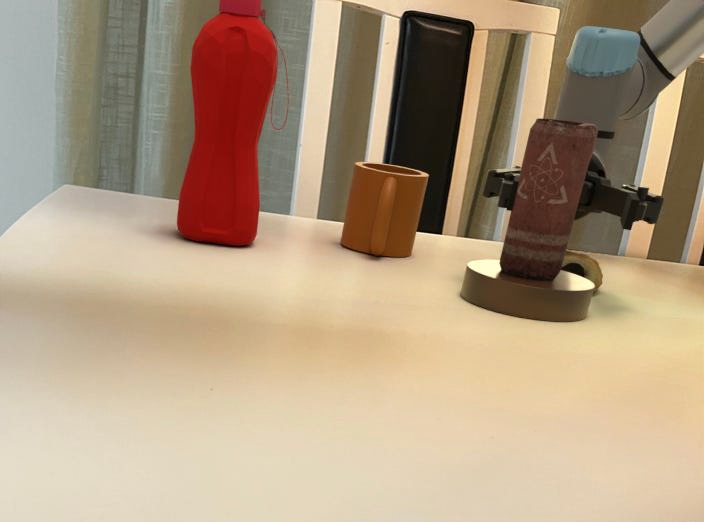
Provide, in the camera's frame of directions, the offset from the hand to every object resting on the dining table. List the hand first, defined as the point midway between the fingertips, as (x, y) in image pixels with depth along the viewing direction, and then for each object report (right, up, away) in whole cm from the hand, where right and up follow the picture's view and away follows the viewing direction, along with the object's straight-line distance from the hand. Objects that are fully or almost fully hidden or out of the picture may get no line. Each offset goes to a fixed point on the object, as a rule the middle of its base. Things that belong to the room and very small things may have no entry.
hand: (571, 205), depth 98 cm
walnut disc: (-3, -7, +7) cm, 10 cm away
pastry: (+6, -2, +18) cm, 19 cm away
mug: (-16, +4, +23) cm, 28 cm away
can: (-3, -5, +5) cm, 8 cm away
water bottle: (-34, +4, +18) cm, 39 cm away
